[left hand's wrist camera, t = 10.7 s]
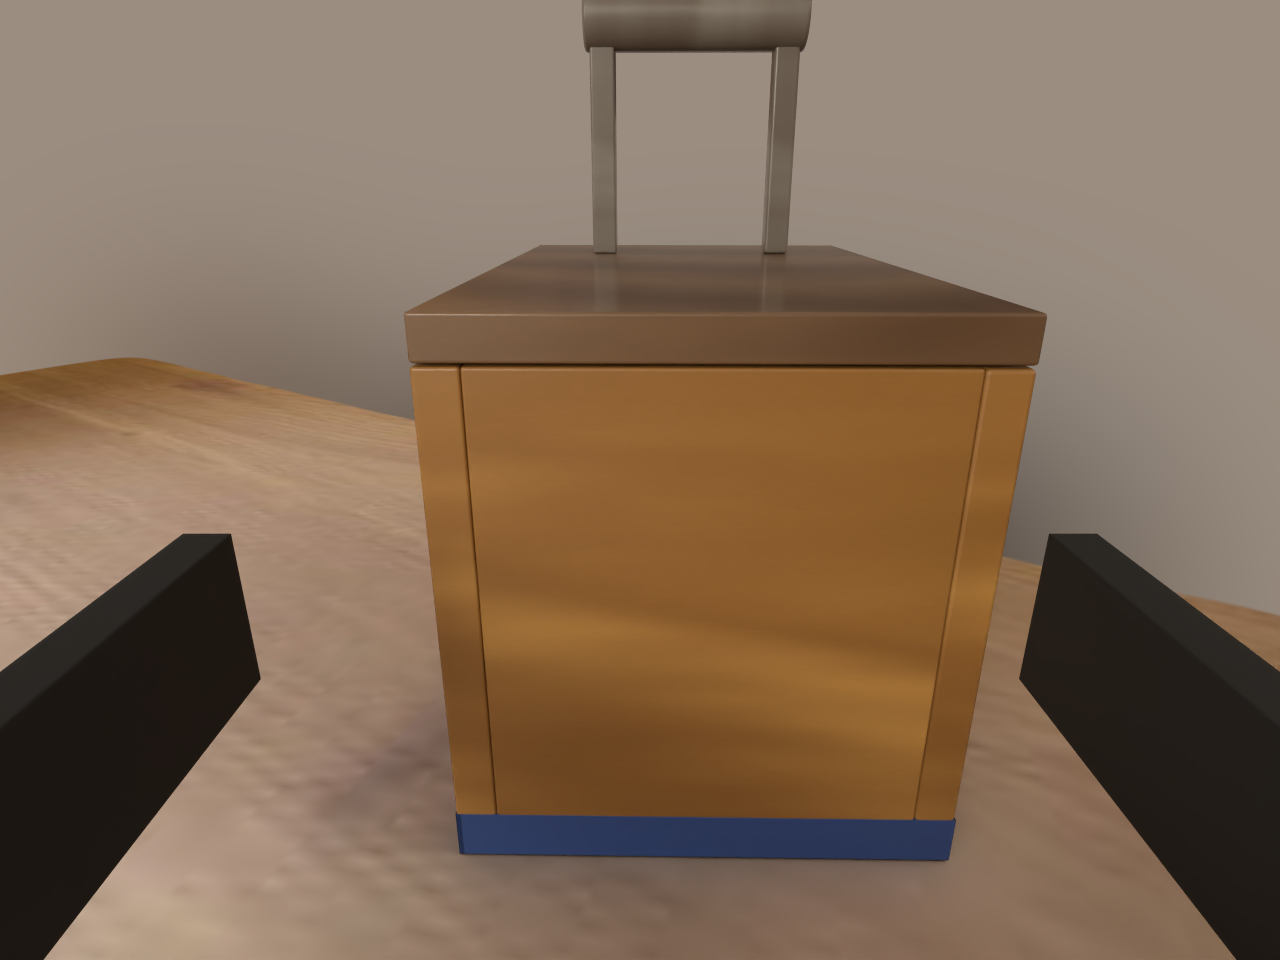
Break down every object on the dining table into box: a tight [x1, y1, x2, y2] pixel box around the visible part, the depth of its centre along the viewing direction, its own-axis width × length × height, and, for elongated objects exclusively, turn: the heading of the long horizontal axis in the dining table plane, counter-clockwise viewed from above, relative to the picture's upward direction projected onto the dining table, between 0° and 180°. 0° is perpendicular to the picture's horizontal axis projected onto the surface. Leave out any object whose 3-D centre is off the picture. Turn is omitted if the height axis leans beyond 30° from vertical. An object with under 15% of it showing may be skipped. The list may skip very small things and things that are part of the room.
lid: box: [404, 0, 1047, 366], centre depth 19 cm, size 16×10×8 cm, turn 179°
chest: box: [410, 363, 1036, 860], centre depth 21 cm, size 15×10×10 cm
